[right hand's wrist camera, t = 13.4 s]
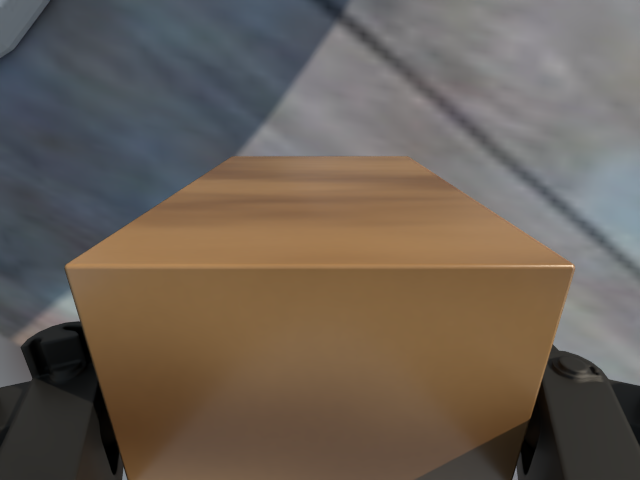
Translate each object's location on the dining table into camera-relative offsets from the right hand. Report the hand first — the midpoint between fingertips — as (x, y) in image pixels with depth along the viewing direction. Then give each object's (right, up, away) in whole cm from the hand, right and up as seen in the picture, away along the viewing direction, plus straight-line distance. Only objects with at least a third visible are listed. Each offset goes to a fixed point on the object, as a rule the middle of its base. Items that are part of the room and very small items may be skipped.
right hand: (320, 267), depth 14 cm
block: (0, +1, +2) cm, 3 cm away
